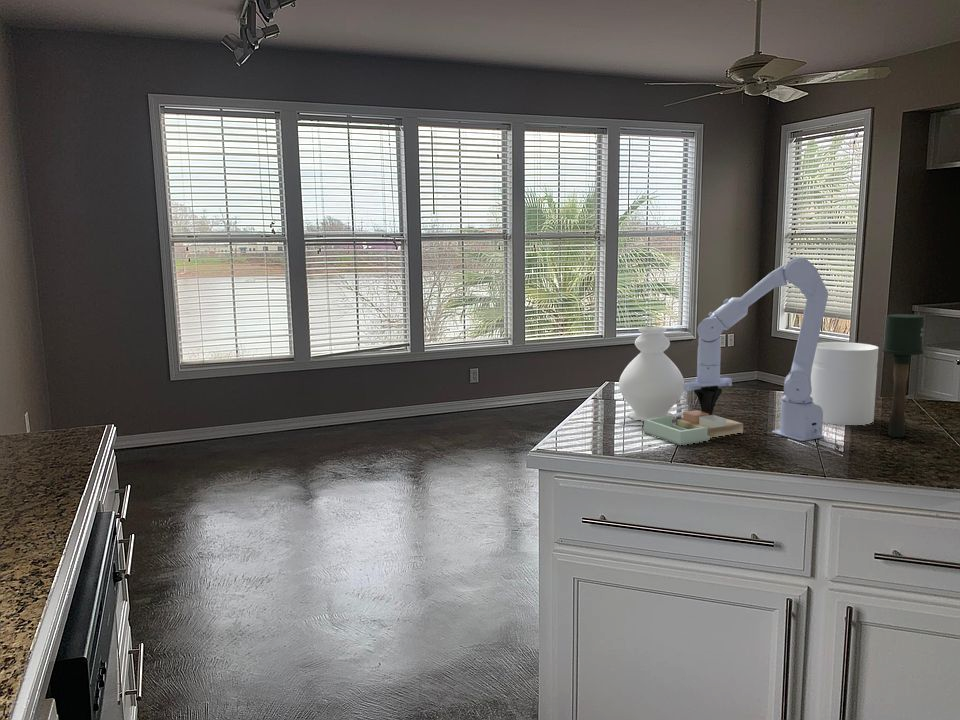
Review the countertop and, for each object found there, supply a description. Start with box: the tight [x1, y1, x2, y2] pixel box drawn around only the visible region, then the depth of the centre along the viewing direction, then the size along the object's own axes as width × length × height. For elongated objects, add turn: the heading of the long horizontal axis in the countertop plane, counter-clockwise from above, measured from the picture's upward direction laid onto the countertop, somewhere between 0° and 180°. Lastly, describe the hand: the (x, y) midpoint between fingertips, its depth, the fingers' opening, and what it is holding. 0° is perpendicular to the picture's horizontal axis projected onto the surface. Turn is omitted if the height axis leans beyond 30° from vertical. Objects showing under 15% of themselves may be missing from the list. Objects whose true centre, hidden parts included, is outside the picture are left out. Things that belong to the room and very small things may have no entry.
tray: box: [643, 416, 711, 447], centre depth 184 cm, size 14×9×4 cm, turn 26°
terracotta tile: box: [682, 409, 709, 423], centre depth 191 cm, size 4×4×2 cm
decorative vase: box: [618, 326, 685, 422], centre depth 204 cm, size 18×18×25 cm
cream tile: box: [699, 414, 727, 428], centre depth 185 cm, size 4×4×2 cm
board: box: [676, 418, 744, 439], centre depth 189 cm, size 11×12×2 cm
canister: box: [810, 341, 880, 426], centre depth 198 cm, size 16×16×20 cm
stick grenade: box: [882, 313, 925, 439], centre depth 179 cm, size 8×9×30 cm
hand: (707, 415), depth 192 cm, fingers closed
